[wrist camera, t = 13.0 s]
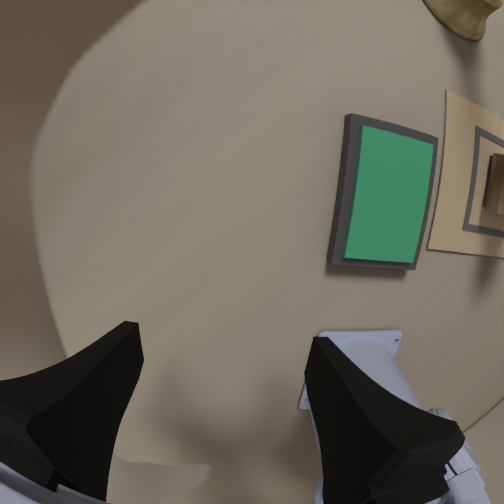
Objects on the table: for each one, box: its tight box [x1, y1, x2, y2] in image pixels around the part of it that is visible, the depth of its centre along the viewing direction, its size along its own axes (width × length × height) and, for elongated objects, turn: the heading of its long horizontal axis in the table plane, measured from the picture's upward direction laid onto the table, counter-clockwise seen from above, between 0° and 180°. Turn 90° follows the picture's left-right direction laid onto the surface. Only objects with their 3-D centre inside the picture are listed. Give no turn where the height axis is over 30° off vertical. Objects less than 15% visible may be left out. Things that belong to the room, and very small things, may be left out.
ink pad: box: [327, 113, 438, 270], centre depth 18 cm, size 10×7×2 cm
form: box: [426, 90, 504, 258], centre depth 18 cm, size 13×16×1 cm
